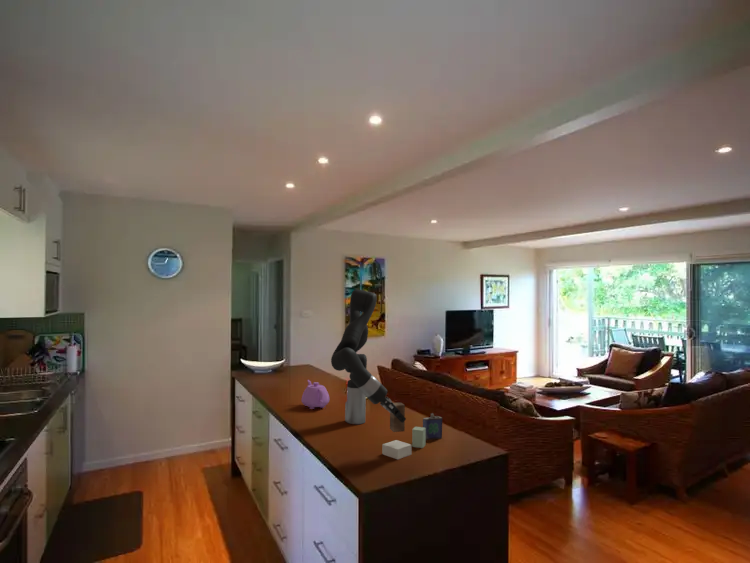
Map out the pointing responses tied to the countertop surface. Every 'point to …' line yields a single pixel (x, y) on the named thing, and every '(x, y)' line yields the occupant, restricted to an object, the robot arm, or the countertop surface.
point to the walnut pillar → (394, 421)
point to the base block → (396, 449)
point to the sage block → (418, 437)
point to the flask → (433, 427)
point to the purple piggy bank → (315, 395)
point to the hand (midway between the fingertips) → (401, 419)
